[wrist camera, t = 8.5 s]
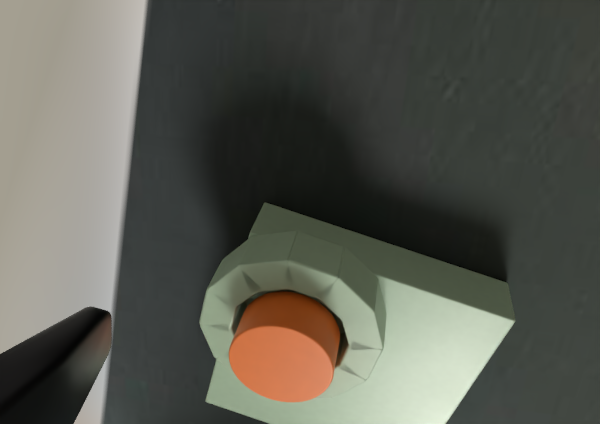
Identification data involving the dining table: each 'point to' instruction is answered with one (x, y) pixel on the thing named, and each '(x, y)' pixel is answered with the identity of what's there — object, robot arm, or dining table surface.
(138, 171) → the dining table surface
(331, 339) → the button
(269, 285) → the housing
